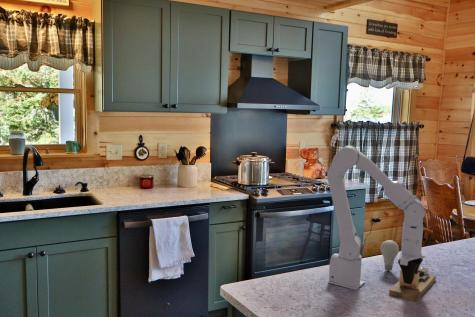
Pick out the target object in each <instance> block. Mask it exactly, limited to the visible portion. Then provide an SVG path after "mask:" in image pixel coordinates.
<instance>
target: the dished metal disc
mask: <svg viewBox="0 0 475 317" xmlns="http://www.w3.org/2000/svg"><path fill="white" fill-rule="evenodd" d="M417 272H419V275H420V276H424V275H425V273H428V272H429V268H428V267H425V266H422V265H420V266H419V268H418V271H417Z"/></svg>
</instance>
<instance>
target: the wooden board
mask: <svg viewBox="0 0 475 317" xmlns="http://www.w3.org/2000/svg"><path fill="white" fill-rule="evenodd" d="M425 274H426V273H425ZM428 274H429V276H428V278H427V279H426V280H425V281H423V280H419V285H418V288H417V289H410V288H406V287H403V286H400V285H399V283H400V279H399V280H398V281H397V282H396V283H395V284H394V285H393V286H392V287H390V289H389V291H388V295H390V296H393V297H397V298H402V299H405V300H408V301H413V302H415V303H417V301H418V300H419V299H420V298H422V296H423V295H424V294H425V292H427V290H428V289H429V288H430V287H431V286H432V284H434V282H435V281H436V280H437V278H436V277H437V276H436V275H434V274H430V273H428ZM419 277H423V276H420V275H419Z"/></svg>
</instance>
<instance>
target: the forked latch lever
mask: <svg viewBox="0 0 475 317" xmlns="http://www.w3.org/2000/svg"><path fill="white" fill-rule="evenodd" d="M429 274H430V273H428V272H427V273H426V274H425V275H424V276H423V277H419V272H417V271H415V272H414V276H413V281H412V283H411V284H407V283H404V281H403V275H402V270H401V269H400V270H399V280H400V283H399V285H400V286H403V287H406V288H410V289H417V288H418V285H419V280H423V281H425V280H426V279H427V278H428V276H429Z"/></svg>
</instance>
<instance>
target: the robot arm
mask: <svg viewBox="0 0 475 317" xmlns="http://www.w3.org/2000/svg"><path fill="white" fill-rule="evenodd" d="M332 158H333V159H332V161H331V163H330V165H329V168H328V169H327V170H328V171H327V173H326V177H327V183H328V187H329V191H330V196H331V200H332V205H333V208H334V213H335V218H336V222H337V226H338V233H339V240H340V244H339V248H338V251H339V252H338V253H337V252H336V253H333V254H332V255H331V257H330V260H329V266H328V267H329V270H328V280H327V283H328V284H332V285H336V286H340V287H344V288H347V289H350V290H354V291H355V290H358V289H359V288H360V287H361V286H362V285H364V284H365V282H366V281H365V280H361V278H362V277H361V275H362V274H361V273H362V258H363V257H362V255H361V246H362V239H361V236H359V235H358V233H357V230H356V227H355V224H354V219H353V216H352V212H351V208H350V202H349V199H348V194H347V190H346V186H345V181H344V176H345V175H346V174H347V172H348V170H350V169H352V168H353V167H354V166H355V168H354V169H355V170H360V171H364V172H366V173H367V174H368V175H369V176H370V178H372V179H373V180H375V182H377V183H378V184H379V185H380V186H381V187H382V188H383V195H384V196H386V198H388V199H389V200H390V201H391V203H392V204H394V205H395V206H396V207H397V208H398V209H399V210H402V211H403V214H404V218H403V223H402V233H401V234H402V235H401V236H402V237H401V248H400V251H399V253H400V258H399V259H398V260H397V263H398V265H399V268H400V270H402V275H403V281H404V283H407V284H411V283H412V281H413V276H414V272H415V271H418V268H419V266H421V264H422V263H423V261H424V259H425V258H426V254H424V253H422V246H423V234H424V224H423V223H424V218H425V216H426V213H427V212H426V209H425V206H424V204H423V203H422V201H421V200H420V199H419V198H417V195H415V194H413V193H411V192H410V191H409V190H408V189H407V187H406V184H404V182H400V181H398V180H391V179H390V178H389V177H388V176H387V174H385V173H384V172H383V171H382V169H380V167H379V166H377V165H376V164H375V162H373V160H371V158H370V157H368V156H366V154H364V153H363V152H361V151H359V150H358V149H357V148H356V146H354V145H351V144H350V145H345V146H343V147H342V148H340V149H339V150H338V151H337V152H336V154H335V155H334V156H333V157H332Z"/></svg>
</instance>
